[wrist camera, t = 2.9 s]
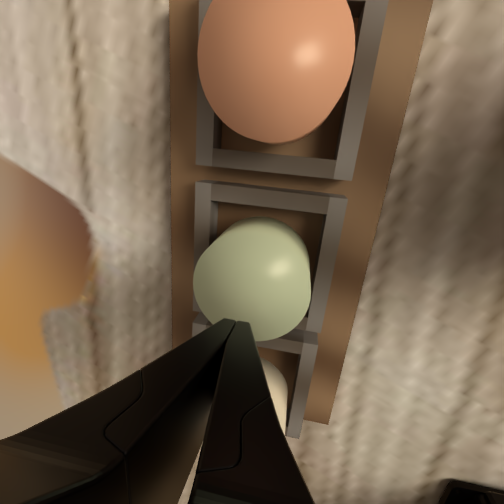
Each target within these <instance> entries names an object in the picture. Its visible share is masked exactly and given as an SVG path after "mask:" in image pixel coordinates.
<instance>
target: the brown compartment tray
mask: <svg viewBox="0 0 504 504" xmlns="http://www.w3.org/2000/svg"><path fill="white" fill-rule="evenodd" d="M346 1H347V3H348V6H349V8H350V11H351V15H352V19H353V23H354V31H355V53H354V61H353V66H352V70H351V74H350V77H349V80H348V82H347V85H346V87H345V89H344V91H343V93H342V95H341V97H340V99H339V100H338V102H337V103H336V105H335V106H334V108H333V109H332V111H331V113H330V114H329V116H328V117H327V118H326V120H325V121H324V122H323V123H322V124H321V125H320V126H319V127H318V128H317V129H316V130H315V131H314V132H312V133H311V134H310V135H308V136H306V137H305V138H303V139H301V140H298V141H296V142H292V143H288V144H281V145H280V144H268V143H264V142H260V141H257V140H253V139H250V138H247V137H245V136H243V135H241V134H238V133H237V132H235V131H234V130H232V129H231V128H229V127H228V126H227V125H226V124H225V123H224V122H223V121H222V120H221V119H220V118H219V117H218V116H217V115H216V113H215V112H214V110H213V109H212V107H211V106H210V104H209V102H208V100H207V98H206V96H205V93H204V91H203V88H202V85H201V81H200V77H199V70H198V56H197V53H198V41H199V35H200V30H201V27H202V23H203V20H204V17H205V15H206V12H207V10H208V8H209V6H210V4H211V2H212V0H169V23H170V136H171V249H172V349H174V348H176V347H177V346H179V345H180V344H182V343H184V342H185V341H187V340H189V339H190V338H192V337H194V336H195V335H197V334H199V333H200V332H202V331H203V330H205V329H207V328H208V327H210V326H212V325H213V324H212V323H211V322H210V321H209V320H208V319H207V318H206V317H205V315H204V314H203V312H202V311H201V309H200V308H199V305H198V303H197V301H196V298H195V295H194V289H193V276H194V271H195V267H196V265H197V262H198V260H199V258H200V257H201V255H202V254H203V253H204V251H205V250H206V249H207V248H208V247H209V246H210V245H211V244H212V243H213V242H214V241H215V240H216V239H217V238H218V237H219V236H220V235H221V234H222V233H223V232H224V231H225V230H226V229H228V228H229V227H230V226H231V225H233V224H234V223H236V222H238V221H240V220H242V219H245V218H249V217H256V216H262V217H270V218H274V219H277V220H279V221H282V222H284V223H285V224H287V225H288V226H290V227H291V228H292V229H294V230H295V231H296V232H297V233H298V235H299V236H300V237H301V239H302V240H303V242H304V244H305V246H306V248H307V251H308V255H309V264H310V282H311V298H310V303H309V307H308V310H307V312H306V314H305V316H304V317H303V319H302V320H301V321H300V323H299V324H298V325H297V326H296V327H295V328H294V329H293V330H291V331H290V332H288V333H287V334H285V335H283V336H281V337H278V338H275V339H271V340H267V341H255V342H256V345H257V349H258V352H259V356H260V357H261V358H263V359H265V360H267V361H268V362H270V363H272V364H273V365H274V366H275V367H276V368H277V369H278V370H279V371H280V372H281V373H282V375H283V377H284V378H285V381H286V383H287V388H288V396H287V411H286V426H285V436H288V437H292V438H297V439H299V437H300V432H301V427H302V422H303V419H304V420H308V421H313V422H318V423H322V424H327V425H328V423H329V419H330V415H331V411H332V407H333V403H334V399H335V395H336V391H337V387H338V383H339V379H340V375H341V371H342V367H343V362H344V358H345V354H346V350H347V346H348V342H349V338H350V334H351V330H352V326H353V322H354V318H355V314H356V310H357V306H358V302H359V298H360V294H361V290H362V286H363V282H364V278H365V274H366V270H367V266H368V261H369V257H370V253H371V249H372V245H373V241H374V237H375V233H376V229H377V225H378V221H379V217H380V213H381V209H382V205H383V201H384V197H385V193H386V189H387V185H388V181H389V177H390V173H391V169H392V165H393V160H394V156H395V152H396V148H397V144H398V140H399V136H400V132H401V128H402V124H403V120H404V116H405V112H406V108H407V104H408V100H409V96H410V92H411V88H412V84H413V80H414V76H415V72H416V68H417V64H418V60H419V55H420V51H421V47H422V43H423V39H424V35H425V31H426V27H427V23H428V19H429V15H430V11H431V7H432V3H433V0H346Z"/></svg>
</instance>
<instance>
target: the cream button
mask: <svg viewBox="0 0 504 504" xmlns="http://www.w3.org/2000/svg"><path fill="white" fill-rule="evenodd" d="M260 359H261V362H262V366H263V369H264V373H265V376H266V380H267V383H268V387H269V390H270V394H271V398H272V400H273V403H274V407H275V410H276V413H277V416H278V419H279V422H280V425H281V428H282V430H283V433H284V435H285V426H286V411H287V396H288V388H287V383H286V381H285V378H284V377H283V375H282V373H281V372H280V371H279V370H278V369H277V368H276V367H275V366H274V365H273V364H272V363H270V362H268V361H267V360H265V359H263V358H261V357H260ZM202 443H203V442H202ZM201 448H202V445H201Z"/></svg>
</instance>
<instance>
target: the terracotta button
mask: <svg viewBox="0 0 504 504" xmlns="http://www.w3.org/2000/svg"><path fill="white" fill-rule="evenodd" d="M354 53H355V31H354V23H353V19H352V15H351V11H350V8H349V6H348V3H347V1H346V0H212V2H211V4H210V6H209V8H208V10H207V12H206V15H205V17H204V20H203V23H202V27H201V30H200V35H199V41H198V53H197V56H198V70H199V77H200V81H201V85H202V88H203V91H204V93H205V96H206V98H207V100H208V102H209V104H210V106H211V107H212V109H213V110H214V112H215V113H216V115H217V116H218V117H219V118H220V119H221V120H222V121H223V122H224V123H225V124H226V125H227V126H228V127H229V128H231V129H232V130H234V131H235V132H237V133H238V134H241V135H243V136H245V137H247V138H250V139H253V140H257V141H260V142H264V143H268V144H280V145H281V144H288V143H292V142H296V141H298V140H301V139H303V138H305V137H306V136H308V135H310V134H311V133H312V132H314V131H315V130H316V129H317V128H318V127H319V126H320V125H321V124H322V123H323V122H324V121H325V120H326V118H327V117H328V116H329V114H330V113H331V111H332V109H333V108H334V106H335V105H336V103H337V102H338V100H339V99H340V97H341V95H342V93H343V91H344V89H345V87H346V85H347V82H348V80H349V77H350V74H351V70H352V66H353V61H354Z"/></svg>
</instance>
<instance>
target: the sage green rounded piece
mask: <svg viewBox="0 0 504 504" xmlns="http://www.w3.org/2000/svg"><path fill="white" fill-rule="evenodd" d="M193 289H194V295H195V298H196V301H197V303H198V305H199V308H200V309H201V311H202V312H203V314H204V315H205V317H206V318H207V319H208V320H209V321H210V322H211V323H212V324H215V323H217V322H218V321H220V320H221V319H223V318H227V319H233V320H236V322H237V321H245V322H249V323H250V325H251V328H252V331H253V335H254V338H255V341H267V340H271V339H275V338H278V337H281V336H283V335H285V334H287V333H288V332H290V331H291V330H293V329H294V328H295V327H296V326H297V325H298V324H299V323H300V321H301V320H302V319H303V317H304V316H305V314H306V312H307V310H308V307H309V303H310V298H311V282H310V264H309V255H308V251H307V248H306V246H305V244H304V242H303V240H302V239H301V237H300V236H299V235H298V233H297V232H296V231H295V230H294V229H292V228H291V227H290V226H288V225H287V224H285V223H284V222H282V221H279V220H277V219H274V218H270V217H262V216H256V217H249V218H245V219H242V220H240V221H238V222H236V223H234V224H233V225H231V226H230V227H229V228H228V229H226V230H225V231H224V232H223V233H222V234H221V235H220V236H219V237H218V238H217V239H216V240H215V241H214V242H213V243H212V244H211V245H210V246H209V247H208V248H207V249H206V250H205V251H204V253H203V254H202V255H201V257H200V258H199V260H198V262H197V265H196V267H195V271H194V276H193Z"/></svg>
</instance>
